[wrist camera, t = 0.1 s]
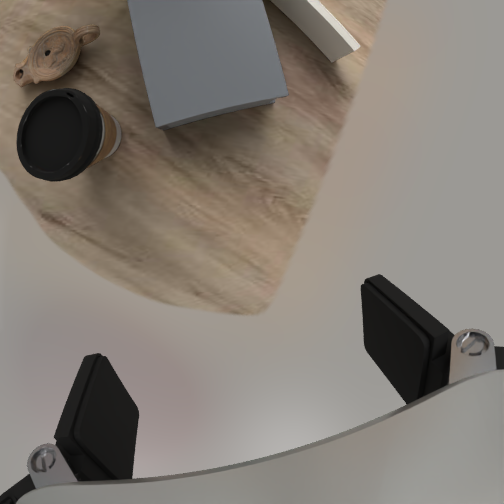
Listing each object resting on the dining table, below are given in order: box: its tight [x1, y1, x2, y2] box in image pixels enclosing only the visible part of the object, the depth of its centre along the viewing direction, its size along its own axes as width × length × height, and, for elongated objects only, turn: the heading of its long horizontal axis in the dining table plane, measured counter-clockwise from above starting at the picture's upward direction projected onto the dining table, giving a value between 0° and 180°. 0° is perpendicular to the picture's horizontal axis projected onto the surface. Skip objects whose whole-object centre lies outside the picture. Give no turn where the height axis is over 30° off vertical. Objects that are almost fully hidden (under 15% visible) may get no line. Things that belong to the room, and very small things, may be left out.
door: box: [270, 0, 360, 62], centre depth 29 cm, size 18×2×7 cm, turn 44°
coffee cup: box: [17, 88, 121, 181], centre depth 27 cm, size 8×8×15 cm
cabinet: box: [127, 0, 289, 130], centre depth 29 cm, size 20×14×7 cm
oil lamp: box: [13, 25, 100, 87], centre depth 27 cm, size 13×8×5 cm, turn 103°
